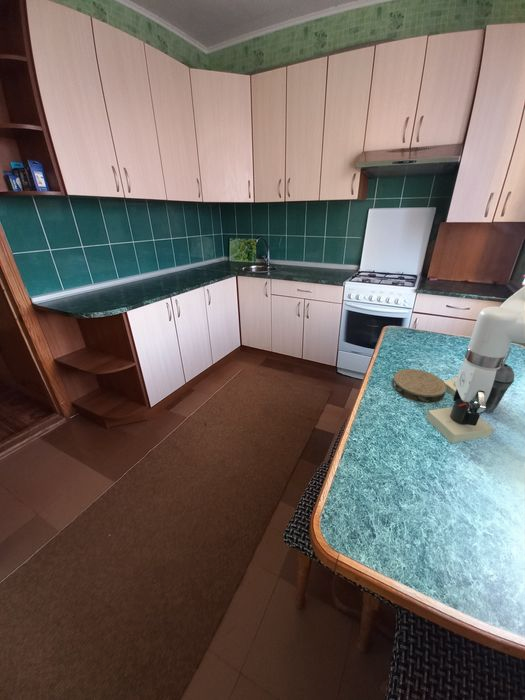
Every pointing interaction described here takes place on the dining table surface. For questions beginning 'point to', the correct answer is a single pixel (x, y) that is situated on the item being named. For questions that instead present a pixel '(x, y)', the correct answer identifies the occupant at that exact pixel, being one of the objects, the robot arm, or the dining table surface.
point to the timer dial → (459, 410)
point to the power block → (451, 386)
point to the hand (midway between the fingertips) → (463, 412)
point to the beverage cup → (499, 385)
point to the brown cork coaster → (419, 385)
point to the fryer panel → (457, 426)
